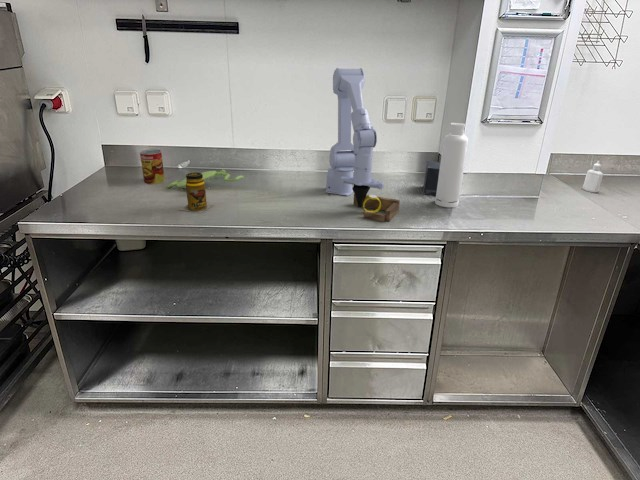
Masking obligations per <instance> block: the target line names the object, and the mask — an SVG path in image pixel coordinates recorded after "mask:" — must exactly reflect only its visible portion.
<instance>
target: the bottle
mask: <svg viewBox="0 0 640 480" xmlns="http://www.w3.org/2000/svg"><path fill="white" fill-rule="evenodd" d="M466 124H467V123H462V122H450V131H449V133H448V134H446V135H445V136H444V138H443V141H442V147H441V148H442V149H441V156H440V157H441V158H440V162H441V163H440V170H439V177H438V185H437V192H436V195H435V200H434V203H435V204H436V205H437V206H440V207H443V208H456V207H458V206H459V202H460V201H459V200H460V197H461V195H460V194H461V189H462V183H463V177H464V170H465V164H466V157H467V151H468V145H469V138H468V137H467V135H466V134H465V127H466Z"/></svg>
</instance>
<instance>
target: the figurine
mask: <svg viewBox="0 0 640 480" xmlns="http://www.w3.org/2000/svg"><path fill="white" fill-rule="evenodd" d="M200 173H201V174H202V175H203V181H204V182H205V181H207V180H209V179H211V178H212V177H215V178H219V177H220V176H222V177H223V180H224V182H227V183H229V182H237V181H239V179H245V176H244V175H237V176H236V177H235V178H230V177H231V175H230V173H228V172H226V170H225V169H221V170H220V171H216V170H208V171H204V172H200ZM186 179H187V178H186V177H185V178H184V179H182V180H181V181H179V179H176V180H174V181H173V182H170V183H169V184H167V188H168V189H171V188H172V187H174V186H175V185H176V187H177V188H184V190H186V182H187V181H186Z"/></svg>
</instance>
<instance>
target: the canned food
mask: <svg viewBox="0 0 640 480" xmlns="http://www.w3.org/2000/svg"><path fill="white" fill-rule="evenodd" d="M139 156H140V163H141V169H142V175H143V183H144V184H146V185H159V184H162V183H165V182H166V177H165V176H166V175H165V168H164V162H163V154H162V150H160V149H157V148H156V149H155V148H154V149H153V148H152V149H144V150H140V151H139Z"/></svg>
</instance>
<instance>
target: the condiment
mask: <svg viewBox="0 0 640 480" xmlns="http://www.w3.org/2000/svg"><path fill="white" fill-rule="evenodd" d="M201 173H202V172H197V171H195V172H189V173H187V174H186V175H185V179H186V178H187V179H186V181H187V182H186V189H185V191H186V197H187V198H186V199H187V204H186V205H185V206H183V207H181V208H179V209H178V210H179V211H185V212H191V213H196V214H197V213H198V214H201V213H203V212H205V211H207V210H208V209H209V208H211V207H212V205H209V204H207V194H206V183H205V181H203V175H202V174H201Z"/></svg>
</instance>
